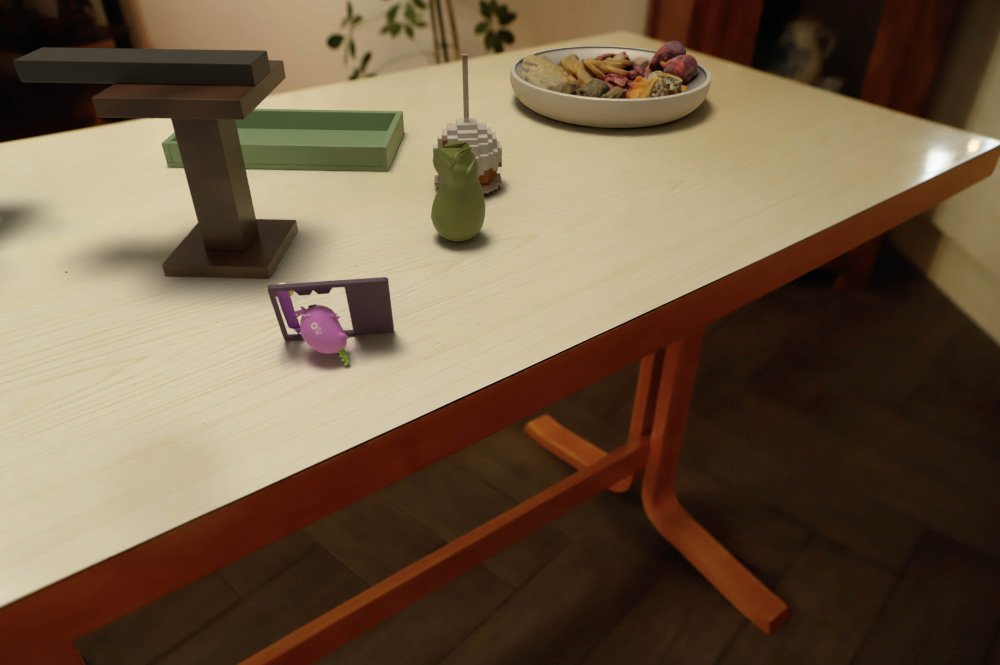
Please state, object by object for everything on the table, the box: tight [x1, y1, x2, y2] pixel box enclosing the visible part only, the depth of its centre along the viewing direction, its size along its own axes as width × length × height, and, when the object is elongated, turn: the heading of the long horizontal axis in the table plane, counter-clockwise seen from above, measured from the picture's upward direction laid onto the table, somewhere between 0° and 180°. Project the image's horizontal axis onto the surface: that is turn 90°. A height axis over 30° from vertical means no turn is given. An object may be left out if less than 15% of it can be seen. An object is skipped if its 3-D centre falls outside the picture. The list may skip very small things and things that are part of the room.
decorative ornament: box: [432, 53, 503, 195], centre depth 81 cm, size 8×8×15 cm
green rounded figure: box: [430, 141, 486, 242], centre depth 72 cm, size 6×5×10 cm
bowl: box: [509, 40, 712, 129], centre depth 109 cm, size 30×30×8 cm
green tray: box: [161, 108, 405, 172], centre depth 94 cm, size 28×14×3 cm, turn 88°
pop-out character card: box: [267, 276, 395, 366], centre depth 56 cm, size 7×5×9 cm
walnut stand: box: [91, 59, 299, 279], centre depth 67 cm, size 12×12×17 cm
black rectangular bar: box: [13, 46, 270, 86], centre depth 62 cm, size 20×4×2 cm, turn 88°
